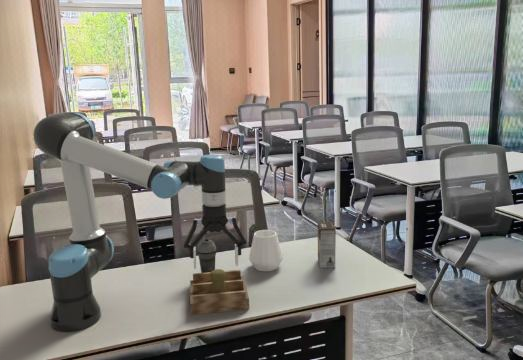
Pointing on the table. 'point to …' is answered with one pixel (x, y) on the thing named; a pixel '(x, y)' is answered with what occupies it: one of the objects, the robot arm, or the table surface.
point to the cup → (265, 251)
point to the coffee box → (326, 244)
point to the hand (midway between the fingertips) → (216, 265)
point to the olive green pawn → (218, 281)
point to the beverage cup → (206, 255)
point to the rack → (222, 301)
